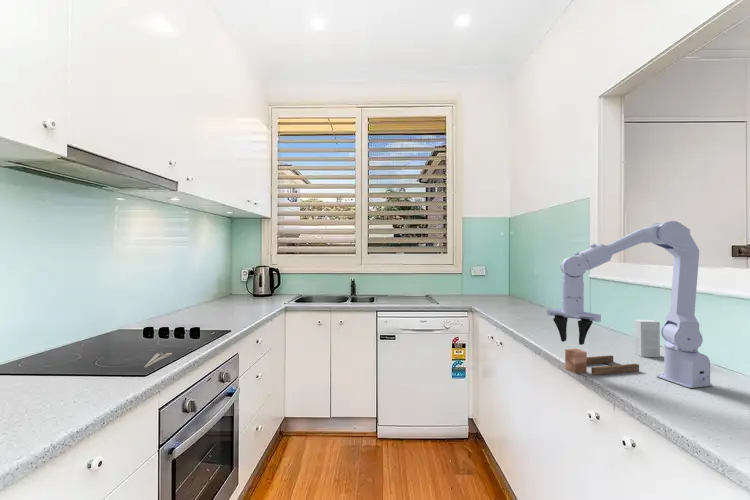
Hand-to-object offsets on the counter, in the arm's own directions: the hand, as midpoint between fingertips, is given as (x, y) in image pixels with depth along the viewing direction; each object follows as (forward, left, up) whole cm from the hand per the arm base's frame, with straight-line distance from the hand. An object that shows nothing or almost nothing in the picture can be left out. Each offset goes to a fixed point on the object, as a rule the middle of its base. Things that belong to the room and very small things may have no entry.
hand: (572, 342), depth 113 cm
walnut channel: (0, -11, -8) cm, 14 cm away
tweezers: (+38, +124, -9) cm, 130 cm away
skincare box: (+8, -37, -9) cm, 39 cm away
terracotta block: (0, -1, -8) cm, 9 cm away
